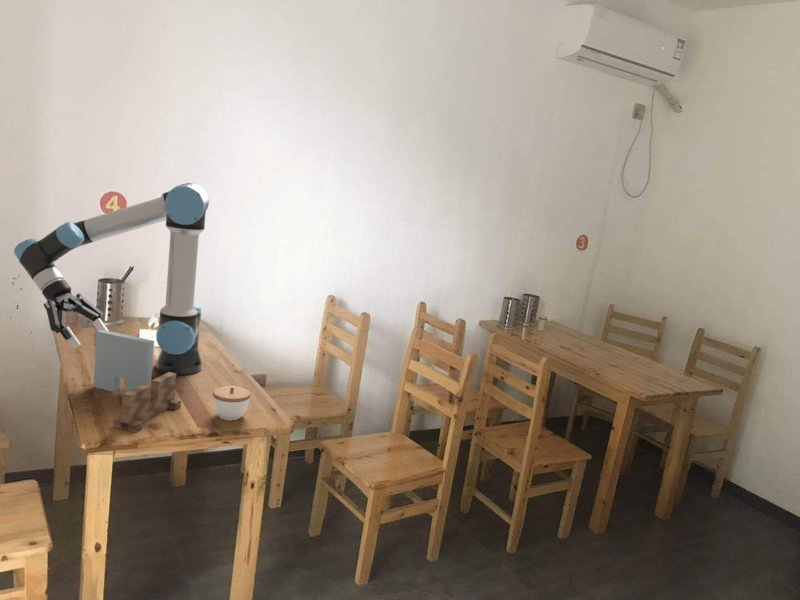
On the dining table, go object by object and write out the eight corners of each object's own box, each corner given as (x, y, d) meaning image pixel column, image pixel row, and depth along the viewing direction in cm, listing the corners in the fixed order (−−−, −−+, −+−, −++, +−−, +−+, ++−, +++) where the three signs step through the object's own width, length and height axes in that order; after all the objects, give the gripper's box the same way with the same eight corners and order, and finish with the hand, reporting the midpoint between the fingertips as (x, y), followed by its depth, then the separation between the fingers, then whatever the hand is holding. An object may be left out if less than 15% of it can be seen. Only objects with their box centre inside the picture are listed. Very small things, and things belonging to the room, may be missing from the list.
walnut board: (160, 401, 198) (162, 370, 196) (180, 406, 196) (183, 375, 194) (113, 426, 176) (115, 392, 174) (135, 432, 175) (138, 397, 173)
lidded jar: (233, 407, 201) (236, 378, 200) (255, 419, 195) (258, 389, 193) (203, 414, 193) (206, 384, 191) (225, 426, 187) (228, 396, 185)
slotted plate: (93, 387, 201) (96, 331, 198) (99, 384, 203) (102, 329, 200) (145, 399, 198) (149, 342, 194) (150, 397, 200) (154, 340, 196)
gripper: (74, 286, 212) (111, 339, 212) (12, 298, 188) (55, 358, 188) (88, 273, 210) (126, 327, 210) (28, 284, 186) (71, 344, 186)
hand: (93, 342), depth 199 cm, fingers open, 13 cm apart
